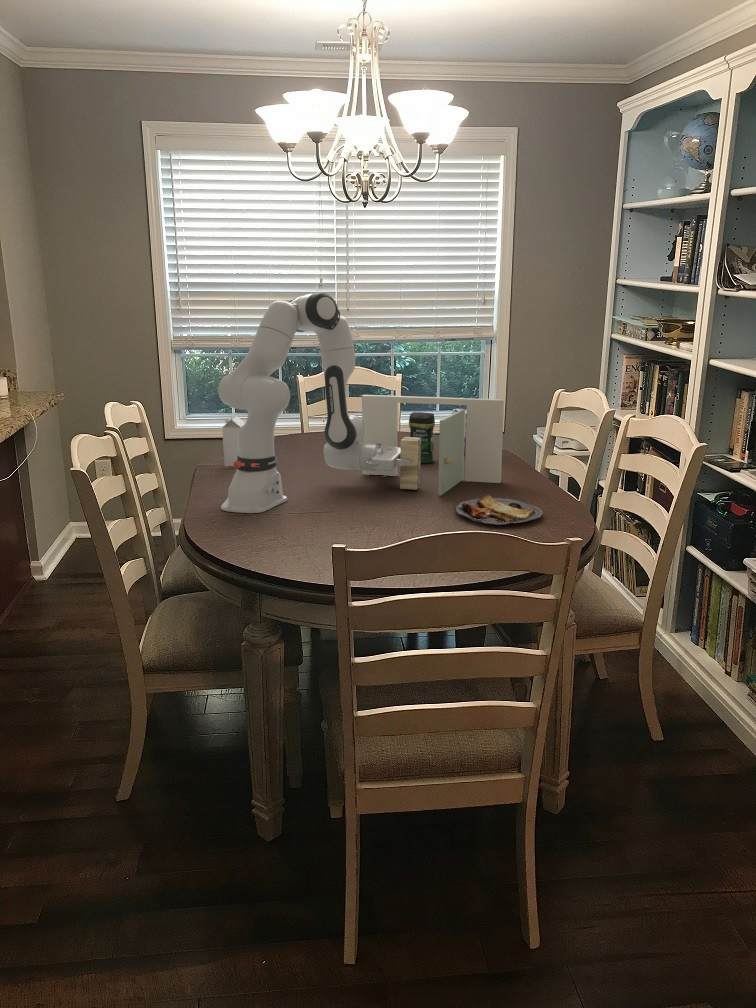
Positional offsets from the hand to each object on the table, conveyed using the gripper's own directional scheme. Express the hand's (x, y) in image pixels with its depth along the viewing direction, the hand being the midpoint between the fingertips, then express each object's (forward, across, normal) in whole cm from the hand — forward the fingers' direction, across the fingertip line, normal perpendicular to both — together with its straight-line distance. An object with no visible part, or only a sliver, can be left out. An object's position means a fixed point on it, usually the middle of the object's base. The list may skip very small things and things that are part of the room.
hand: (413, 460), depth 262 cm
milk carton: (-70, +18, +10) cm, 73 cm away
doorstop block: (-1, 0, +9) cm, 9 cm away
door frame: (+3, +16, +10) cm, 19 cm away
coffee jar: (-5, +40, +10) cm, 41 cm away
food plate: (+30, -22, +10) cm, 39 cm away
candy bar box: (+8, +60, +9) cm, 61 cm away
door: (+13, +4, +9) cm, 17 cm away
